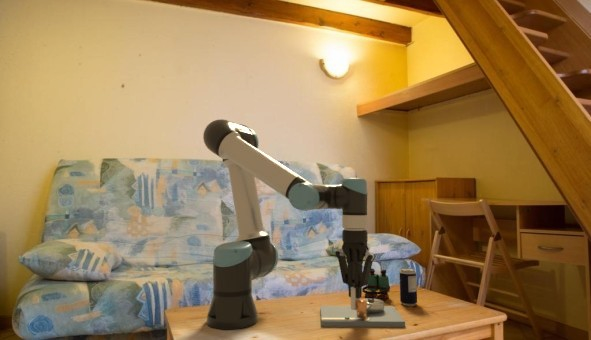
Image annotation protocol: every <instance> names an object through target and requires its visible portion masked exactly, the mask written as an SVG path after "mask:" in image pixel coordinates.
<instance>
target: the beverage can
mask: <svg viewBox="0 0 591 340" xmlns="http://www.w3.org/2000/svg"><path fill="white" fill-rule="evenodd" d="M417 286H418V284H417V272H416V269H415V268H412V267H411V268H410V267H405V268H400V271H399V299H400V300H399V302H400V303H402V305H403V306H407V307H413V306H416V304H417V303H418V287H417Z"/></svg>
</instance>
